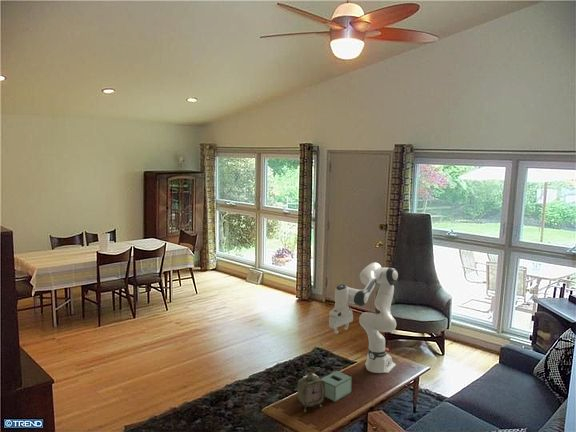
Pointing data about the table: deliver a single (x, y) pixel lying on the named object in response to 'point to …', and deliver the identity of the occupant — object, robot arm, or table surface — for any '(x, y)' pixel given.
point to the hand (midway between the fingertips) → (341, 331)
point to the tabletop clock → (311, 390)
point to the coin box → (337, 385)
